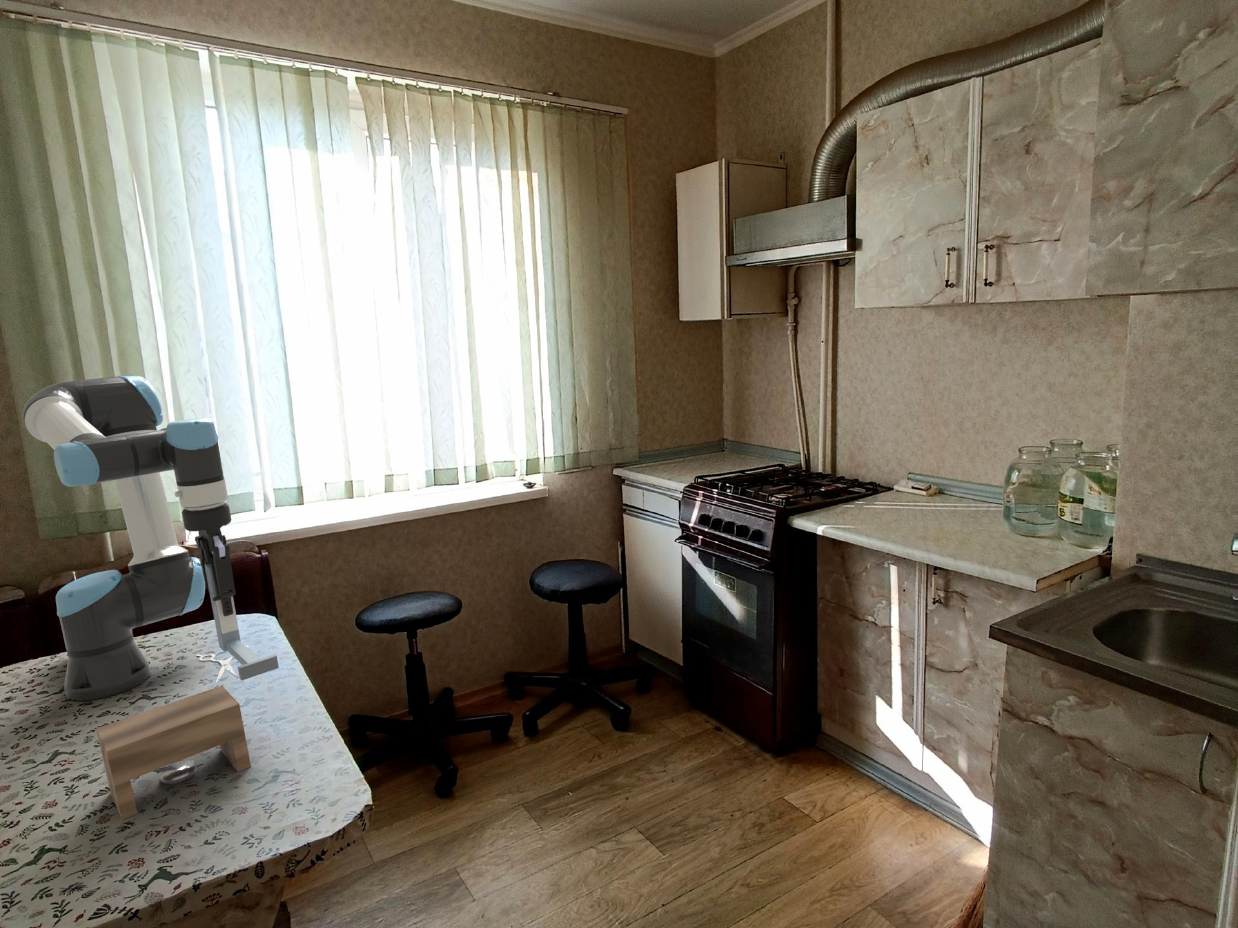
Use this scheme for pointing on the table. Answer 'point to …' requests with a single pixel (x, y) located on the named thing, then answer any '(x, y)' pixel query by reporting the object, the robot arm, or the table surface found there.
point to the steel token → (178, 772)
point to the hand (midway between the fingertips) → (227, 628)
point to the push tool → (238, 643)
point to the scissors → (223, 663)
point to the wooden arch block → (170, 740)
